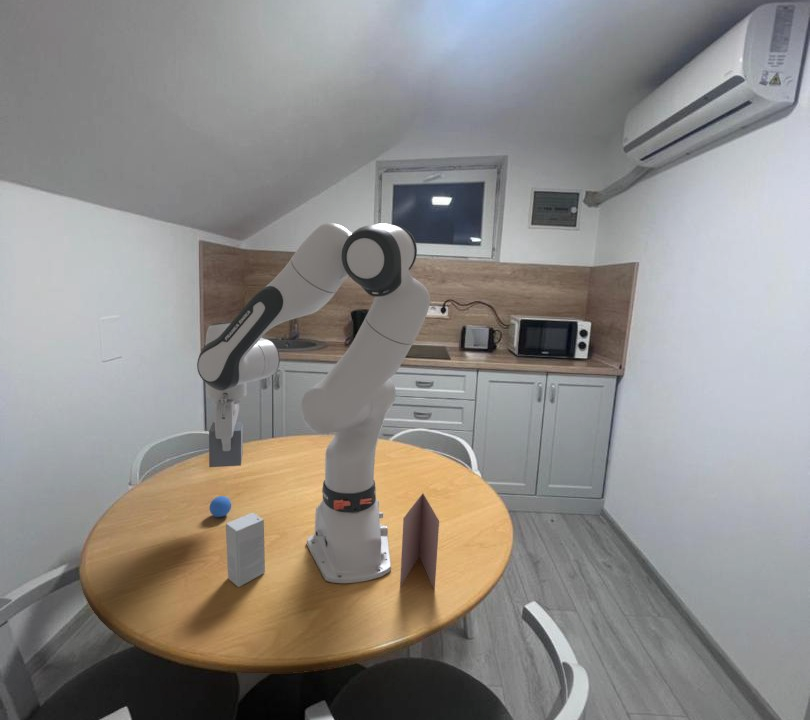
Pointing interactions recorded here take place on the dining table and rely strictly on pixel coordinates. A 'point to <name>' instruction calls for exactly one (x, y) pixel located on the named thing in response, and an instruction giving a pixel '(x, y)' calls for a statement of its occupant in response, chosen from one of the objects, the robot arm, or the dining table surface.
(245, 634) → the dining table surface
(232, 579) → the skincare box
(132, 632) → the dining table surface
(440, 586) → the dining table surface
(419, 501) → the greeting card
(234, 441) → the balanced grey cube
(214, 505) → the ball
